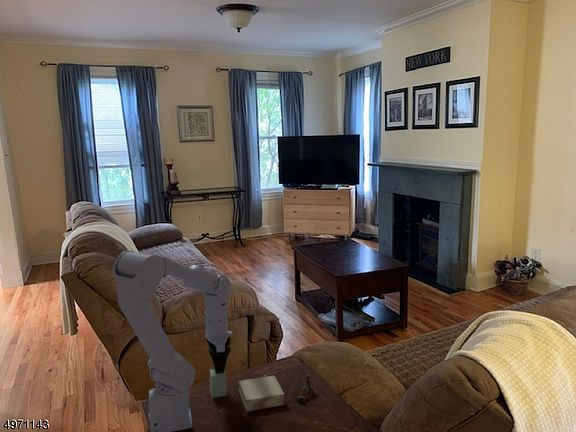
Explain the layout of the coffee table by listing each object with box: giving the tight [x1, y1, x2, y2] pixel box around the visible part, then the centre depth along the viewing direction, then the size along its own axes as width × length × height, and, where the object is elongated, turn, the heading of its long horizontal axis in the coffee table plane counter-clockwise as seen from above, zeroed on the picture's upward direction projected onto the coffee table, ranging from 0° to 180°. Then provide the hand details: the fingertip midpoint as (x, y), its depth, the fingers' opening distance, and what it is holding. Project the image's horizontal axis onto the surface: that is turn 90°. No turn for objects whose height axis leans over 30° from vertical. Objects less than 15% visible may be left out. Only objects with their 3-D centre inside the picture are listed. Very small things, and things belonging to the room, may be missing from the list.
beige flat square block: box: [238, 375, 286, 412], centre depth 113 cm, size 10×10×3 cm
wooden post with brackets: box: [297, 373, 312, 403], centre depth 115 cm, size 2×8×4 cm, turn 160°
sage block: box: [209, 368, 228, 399], centre depth 116 cm, size 4×4×6 cm
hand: (217, 366), depth 115 cm, fingers open, 7 cm apart
